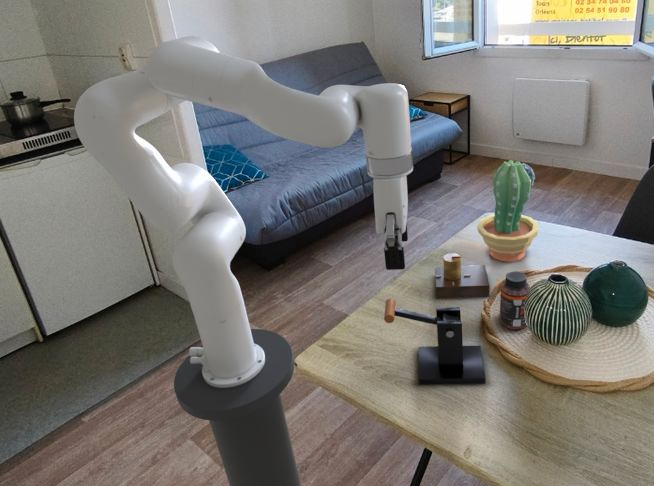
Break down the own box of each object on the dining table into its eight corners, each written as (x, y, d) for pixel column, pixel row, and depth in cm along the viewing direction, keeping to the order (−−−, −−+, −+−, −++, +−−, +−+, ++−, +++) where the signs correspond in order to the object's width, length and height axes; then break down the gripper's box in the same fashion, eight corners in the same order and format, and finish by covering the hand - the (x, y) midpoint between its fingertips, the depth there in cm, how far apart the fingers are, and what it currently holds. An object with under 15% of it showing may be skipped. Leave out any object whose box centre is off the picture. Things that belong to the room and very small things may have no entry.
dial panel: (436, 298, 116) (435, 286, 114) (434, 277, 124) (434, 266, 123) (489, 296, 114) (489, 284, 113) (484, 275, 123) (484, 264, 121)
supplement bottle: (524, 334, 102) (526, 287, 97) (496, 326, 105) (496, 280, 100) (532, 317, 106) (534, 271, 102) (504, 310, 109) (505, 266, 104)
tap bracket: (418, 384, 92) (415, 332, 87) (419, 351, 100) (415, 302, 95) (485, 383, 90) (485, 330, 86) (480, 350, 99) (479, 300, 94)
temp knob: (444, 280, 116) (443, 261, 114) (443, 271, 120) (442, 252, 118) (461, 280, 116) (461, 260, 114) (460, 271, 120) (459, 251, 118)
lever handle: (382, 323, 89) (385, 312, 88) (384, 306, 94) (387, 296, 93) (455, 339, 89) (459, 329, 88) (453, 322, 94) (457, 311, 93)
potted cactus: (544, 266, 124) (550, 171, 113) (481, 269, 125) (480, 175, 115) (530, 237, 138) (534, 150, 127) (473, 240, 139) (472, 154, 129)
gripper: (372, 147, 90) (381, 232, 97) (359, 183, 74) (370, 281, 81) (414, 144, 89) (420, 230, 96) (410, 181, 73) (417, 280, 80)
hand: (397, 254), depth 89 cm, fingers open, 9 cm apart
